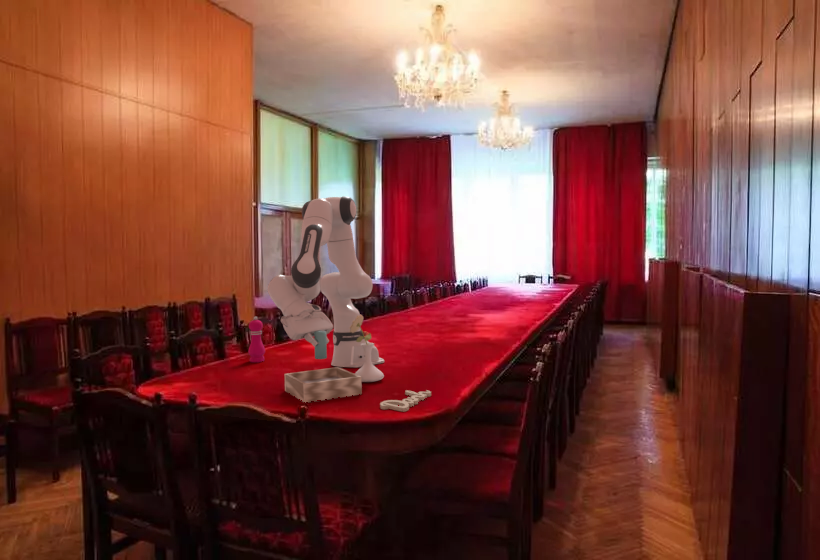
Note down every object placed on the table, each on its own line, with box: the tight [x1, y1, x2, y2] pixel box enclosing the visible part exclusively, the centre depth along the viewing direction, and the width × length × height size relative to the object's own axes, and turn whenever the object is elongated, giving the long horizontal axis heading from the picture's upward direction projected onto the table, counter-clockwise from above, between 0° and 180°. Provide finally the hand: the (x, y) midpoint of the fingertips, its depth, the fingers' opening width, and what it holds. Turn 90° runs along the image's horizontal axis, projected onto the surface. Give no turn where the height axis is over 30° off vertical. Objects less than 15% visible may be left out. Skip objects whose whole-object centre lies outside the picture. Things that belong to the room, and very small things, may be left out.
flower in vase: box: [349, 314, 385, 383], centre depth 224 cm, size 13×11×25 cm
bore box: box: [284, 366, 363, 404], centre depth 209 cm, size 20×20×6 cm
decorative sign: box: [379, 389, 432, 413], centre depth 194 cm, size 23×2×10 cm
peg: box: [313, 331, 328, 360], centre depth 208 cm, size 4×4×9 cm
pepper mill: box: [248, 315, 266, 363], centre depth 272 cm, size 7×7×20 cm
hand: (322, 344), depth 208 cm, fingers closed on peg, 4 cm apart
